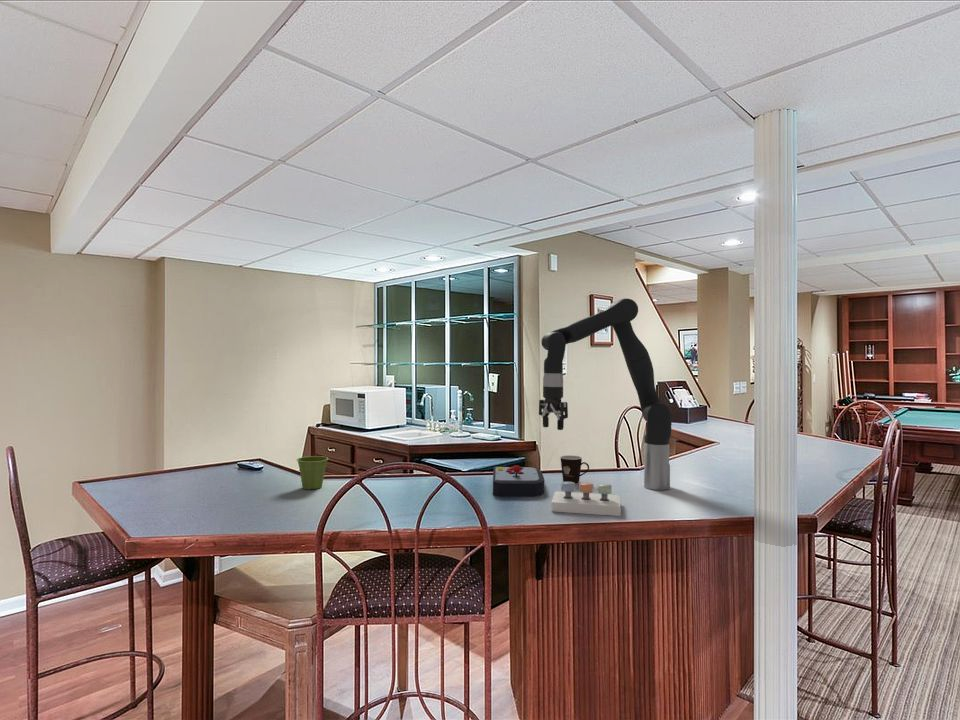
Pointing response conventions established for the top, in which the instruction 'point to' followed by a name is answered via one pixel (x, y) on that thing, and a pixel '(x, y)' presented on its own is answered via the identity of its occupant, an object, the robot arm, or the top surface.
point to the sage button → (604, 491)
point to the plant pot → (312, 471)
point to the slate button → (568, 488)
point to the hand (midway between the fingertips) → (552, 428)
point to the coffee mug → (572, 468)
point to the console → (586, 504)
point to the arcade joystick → (517, 482)
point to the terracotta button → (586, 489)
